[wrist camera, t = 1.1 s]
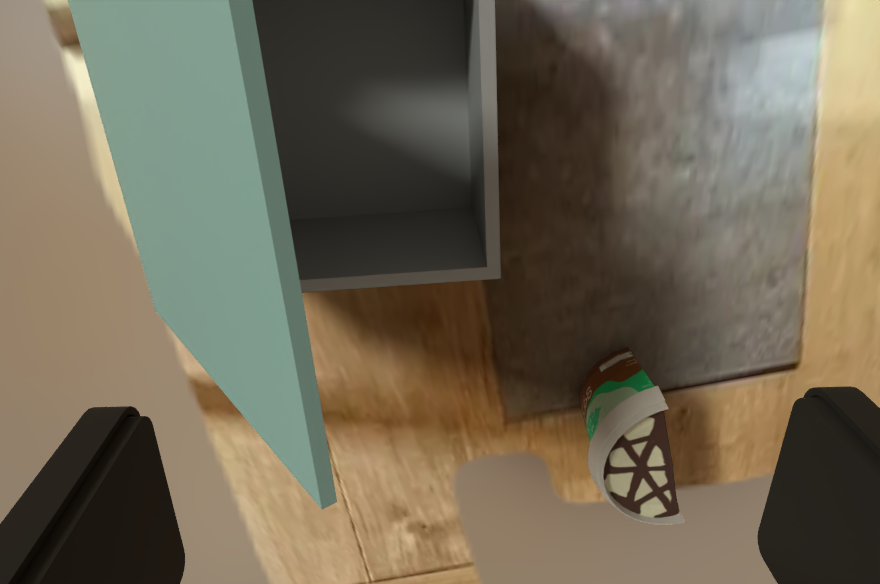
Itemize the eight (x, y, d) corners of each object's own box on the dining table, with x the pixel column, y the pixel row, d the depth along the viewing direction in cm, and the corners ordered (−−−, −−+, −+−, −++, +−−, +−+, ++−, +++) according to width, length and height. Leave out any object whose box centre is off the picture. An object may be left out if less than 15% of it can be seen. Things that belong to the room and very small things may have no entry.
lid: (234, -105, 15) (209, -105, 15) (336, 501, 23) (321, 509, 23) (69, -45, 31) (55, -44, 30) (165, 307, 39) (155, 310, 38)
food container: (554, 350, 55) (581, 422, 46) (625, 332, 55) (667, 401, 46) (579, 460, 60) (608, 544, 51) (644, 445, 60) (685, 527, 51)
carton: (473, -54, 42) (493, -66, 31) (482, 213, 50) (500, 278, 39) (161, -33, 42) (72, -38, 31) (219, 231, 49) (164, 302, 39)
